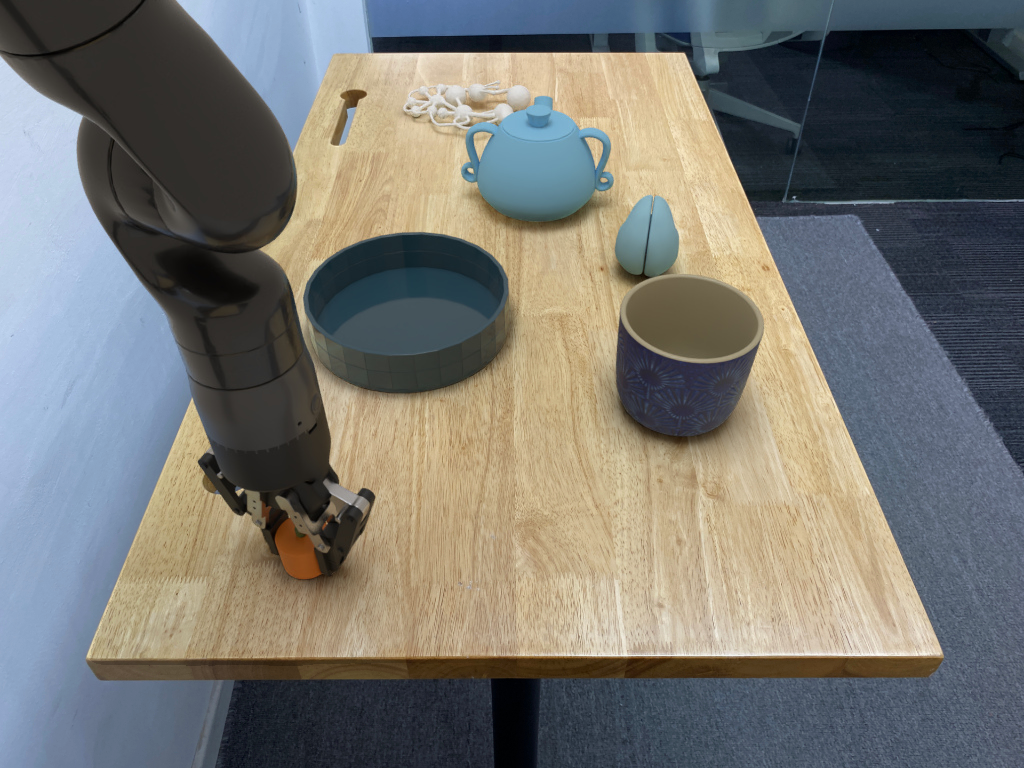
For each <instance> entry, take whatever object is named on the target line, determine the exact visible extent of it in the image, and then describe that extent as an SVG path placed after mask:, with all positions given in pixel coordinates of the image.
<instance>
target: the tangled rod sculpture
mask: <svg viewBox="0 0 1024 768" xmlns="http://www.w3.org/2000/svg"><path fill="white" fill-rule="evenodd" d="M500 84H501V80H499V79H497V80H496V81H493V82H490V83H487V84H481V83H476V82H475V83H473V84H471V85H469V87H463V86H462V85H459V84H453V85H450V84H444V83H438V84H434V85H429V86H425V85H421V86H420V87H419V88H416V89H413V90H411V91H410V92H409V93H408V94H407V98H406V100H405V103H404V105H403V107H402V110H403V112H405V113H410V114H411V116H412V117H414V118H419V117H420V116H421V115H425V114H426V115H427V116H428V117H429V119H430V120H431V123H432V124H433V125H434V126H435V127H439V128H445V127H447V128H448V127H457V128H459V129H460V130H464V131H468V130H469V129H470V128H471V127H472V126H469V125H470V124H471V123H472V122H473V119H474V118H476V119H489V120H487V121H485V122H489V123H492V124H496V125H497V126H498V125H499V124H500V123H501V122H502V120H503V119H504V118H505V117H507V116H508V115H510V114H511V113H514V112H516V111H520V110H525V109H526V108H527V107H529V106H530V104H531V99H532V96H531V93H530V90H529V89H528V88H527V87H526V86H524V85H521V84H515V85H513V86H511V87H506V88H501V89H500V86H499V85H500ZM432 89H435V92H436V94H432V95H431V94H430V90H432ZM491 89H493V90H491ZM494 89H495V90H494ZM414 93H418V95H419V96H420V97H422V98H427V99H428V100H421V99H416V98H415V97H413V96H412V95H413V94H414ZM467 94H468V97H469V99H470V100H471V101H473V102H475V103H480V102H482V101H485V99H486V98H487V97H488V95H489V96H500V95H505V94H506V95H505V99H506V102H507V103H504V102H503V103H499V104H497V105H496V106H495V107H494V109H489V110H487V111H484V110H483V111H482V112H476V111H473V109H472V108H471V106H469V104H468V105H467V104H465V103H466V101H467V98H468V97H467ZM443 95H444V96H443ZM419 105H420V106H419ZM407 107H408V108H409V109H407ZM447 108H448V109H450V110H452V111H449V110H448V109H447ZM424 109H426V110H424ZM449 116H450V117H453V118H454V119H453V120H452V122H447V123H446V122H445V123H439V122H437V121H436V120H435V119H434V118H436V117H438V119H440V120H446V119H447V118H448V117H449Z"/></svg>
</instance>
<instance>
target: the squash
mask: <svg viewBox="0 0 1024 768" xmlns="http://www.w3.org/2000/svg"><path fill="white" fill-rule="evenodd" d="M326 525H327V522H325V524H324V525H323V528H322V530H323V529H324V528H325V526H326ZM275 543H276V546H277V549H278V552H279V555H280V556H279V558H280V560H281V563H282V566H283V569H284V570H285V572H286V573H287V575H289V576H291V577H292V578H295V579H299V580H309V579H313V578H317V577H319V576H320V575H323V574H322V573H321V571H320V568H319V565H318V561H317V558H316V555H315V551H314V547H315V546H314V544H313V543H312V541H311V539H310V538H309V536H308V534H303V533H300V532H299V531H298V530H297V528H296V526H295V525H294V523H293V521H292V520H291V518H290V517H289V518H288V519H287V520H285V521H284V522H283V523H282V524H281V525H280V527H279V528H278V530H277V532H276V535H275Z"/></svg>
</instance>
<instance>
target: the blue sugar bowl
mask: <svg viewBox="0 0 1024 768" xmlns="http://www.w3.org/2000/svg"><path fill="white" fill-rule="evenodd" d="M533 99H534V100H533V104H532V105H528V107H527V108H526V109H524V110H520V111H514V113H511V114H510V115H508V116H507V117H505V118H504V119H503V120H502V122H501V123H500V124H499V125H498V124H496V123H489V122H486V121H481V122H477V123H475V124H473V125H472V126H470V127H471V128H470V129H469V130H467V132H466V133H465V141H464V143H465V149H466V152H467V155H468V158H469V161H467V162H464V164H463V165H462V166H461V170H460V175H461V177H462V179H463V180H465V181H466V182H468V183H471V184H475V183H477V189H478V191H479V193H480V195H481V197H482V198H483V200H485V201H486V202H487V204H489V205H490V207H492V208H493V209H494V210H495V211H496V212H498V213H500V214H501V215H503V216H505V217H507V218H510V219H514V220H517V221H522V222H523V221H524V222H531V223H545V222H554V221H558V220H562V219H564V218H567V217H569V216H571V215H574V214H575V213H576V212H577V211H579V210H580V209H582V207H584V206H585V205H586V204H587V203H588V202H589V201H590V199H592V197H593V195H594V193H595V191H598V192H607V191H609V190H610V189H612V187H613V186H614V182H615V179H614V176H613V174H612V173H611V172H609V171H604V170H605V168H606V166H607V163H608V161H609V158H610V156H611V151H612V143H611V139H610V137H609V136H608V134H607V133H606V132H605V131H603V130H601V129H599V128H596V127H585V128H581V129H580V128H579V126H578V125H577V123H576V122H575V121H574V120H573V118H572V117H570V116H569V115H568V114H566V113H563V112H561V111H558V110H554V98H553V97H551V96H548V95H539V96H536V97H534V98H533ZM478 133H488V134H491V136H490V137H489V139H488V141H487V142H486V145H485V146H484V148H483V151H482V153H481V157H480V159H479V155H478V153H477V150H476V149H477V148H476V146H475V141H474V137H475V134H478ZM589 138H591V139H595V140H598V141H600V142H601V144H602V152H601V156H600V159H599V161H598V164H597V166H596V163H595V160H594V156H593V153H592V150H591V148H590V146H589V143H588V141H587V139H589ZM468 169H471V170H473V173H472V172H470V171H469V170H468ZM601 179H606V181H605V182H604V181H601Z"/></svg>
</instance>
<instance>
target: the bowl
mask: <svg viewBox="0 0 1024 768" xmlns="http://www.w3.org/2000/svg"><path fill="white" fill-rule="evenodd" d="M302 295H303V296H302V303H303V311H304V313H305V319H306V324H307V327H308V331H309V336H310V341H311V345H312V347H313V349H314V352H315V354H316V356H317V358H318V360H319V361H320V362H321V363H322V365H323V366H324V367H325V368H326V369H327V370H328V371H330V372H331V373H332V374H333V375H334V376H336V377H337V378H340V379H341V380H342V381H345V382H347V383H349V384H351V385H354V386H356V387H360V388H362V389H365V390H370V391H375V392H380V393H391V394H412V393H422V392H428V391H434V390H439V389H442V388H446V387H448V386H451V385H454V384H457V383H459V382H462V381H464V380H466V379H468V378H470V377H472V376H474V375H475V374H477V373H479V372H480V371H482V370H483V369H484V368H485V367H486V366H487V365H489V364H490V363H491V362H492V361H493V360H494V359H495V358H496V357H497V355H498V354H499V353H500V352H501V349H502V348H503V347H504V344H505V342H506V340H507V338H508V337H507V336H508V332H509V326H510V289H509V278H508V275H507V273H506V271H505V269H504V267H503V265H502V263H500V261H498V260H497V259H496V258H495V256H494V255H493V254H491V253H490V252H489V251H487V250H485V248H482V247H481V246H480V245H478V244H475V243H473V242H470V241H468V240H466V239H464V238H460V237H457V236H453V235H448V234H444V233H437V232H436V233H435V232H428V231H427V232H426V231H407V232H406V231H405V232H403V231H402V232H395V233H388V234H381V235H377V236H373V237H369V238H366V239H361V240H360V241H358V242H355V243H353V244H350V245H348V246H345V247H343V248H341V249H340V250H338V251H336V252H335V253H334V254H332V255H330V256H328V257H327V258H326V259H325V260H324V261H323V262H321V263H320V264H319V265H318V266H317V267H316V269H314V270H313V272H312V274H311V275H310V277H309V279H308V280H307V282H306V283H305V287H304V291H303V294H302Z"/></svg>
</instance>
